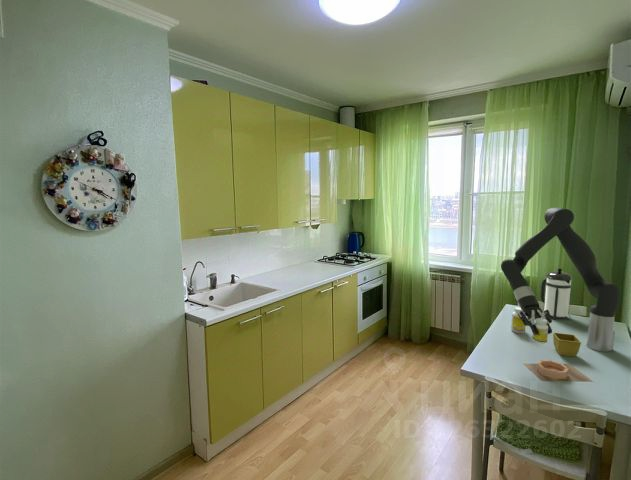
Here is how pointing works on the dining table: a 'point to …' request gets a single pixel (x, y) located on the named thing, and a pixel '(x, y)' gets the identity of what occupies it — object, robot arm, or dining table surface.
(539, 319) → the supplement bottle
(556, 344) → the flower pot
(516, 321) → the supplement bottle
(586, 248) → the robot arm
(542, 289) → the coffee press
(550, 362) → the octagonal planter bowl
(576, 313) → the dining table surface
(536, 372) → the walnut board
